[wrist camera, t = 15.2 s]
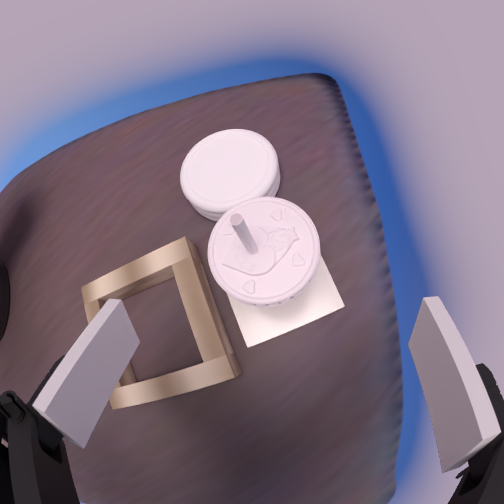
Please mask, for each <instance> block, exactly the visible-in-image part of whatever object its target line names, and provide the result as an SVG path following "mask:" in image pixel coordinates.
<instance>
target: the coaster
mask: <svg viewBox="0 0 504 504" xmlns="http://www.w3.org/2000/svg"><path fill="white" fill-rule="evenodd" d="M180 182H181V187H182V190H183V193H184V195H185V196H186V198H187V199H188V200H189V201H190V203H191V204H192V205H193V207H194V208H195V209H196V210H197V211H198V212H199V213H200V214H201V215H202V216H204V217H206V218H208V219H210V220H213V221H217V222H218V220H219V219H220V218H221V217H222V216H223V215H224V214H225V213H226V212H227V211H228V210H229V209H230V208H232V207H233V206H235V205H236V204H238V203H240V202H242V201H245V200H248V199H251V198H256V197H275V195H276V193H277V191H278V188H279V185H280V170H279V164H278V157H277V154H276V151H275V149H274V148H273V146H272V145H271V144H270V142H269V141H268V140H267V139H266V138H264V137H263V136H261V135H260V134H258V133H255V132H253V131H249V130H244V129H229V130H224V131H220V132H216V133H214V134H212V135H210V136H208V137H206V138H204V139H203V140H201V141H200V142H199V143H197V144H196V145H195V146H194V147H193V148H192V149H191V150H190V152H189V153H188V154H187V156H186V158H185V160H184V162H183V164H182V167H181V172H180Z"/></svg>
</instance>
